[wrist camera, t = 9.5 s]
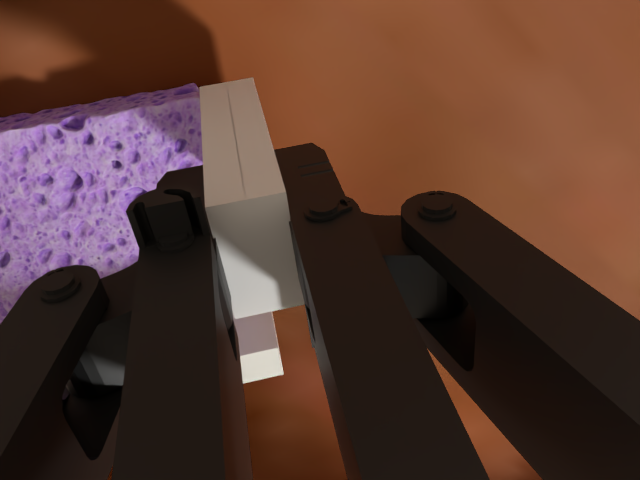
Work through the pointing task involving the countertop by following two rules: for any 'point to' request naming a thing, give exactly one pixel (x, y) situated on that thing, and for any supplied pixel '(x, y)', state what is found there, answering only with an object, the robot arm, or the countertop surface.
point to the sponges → (86, 180)
